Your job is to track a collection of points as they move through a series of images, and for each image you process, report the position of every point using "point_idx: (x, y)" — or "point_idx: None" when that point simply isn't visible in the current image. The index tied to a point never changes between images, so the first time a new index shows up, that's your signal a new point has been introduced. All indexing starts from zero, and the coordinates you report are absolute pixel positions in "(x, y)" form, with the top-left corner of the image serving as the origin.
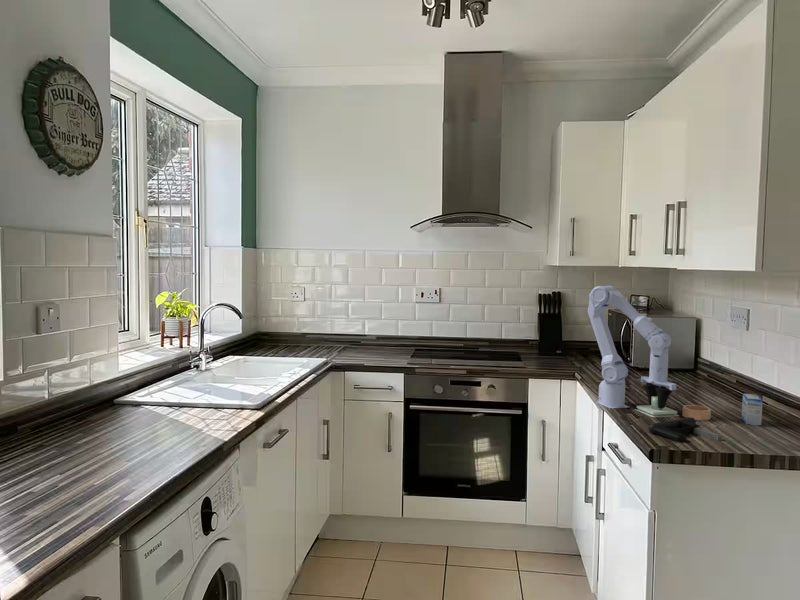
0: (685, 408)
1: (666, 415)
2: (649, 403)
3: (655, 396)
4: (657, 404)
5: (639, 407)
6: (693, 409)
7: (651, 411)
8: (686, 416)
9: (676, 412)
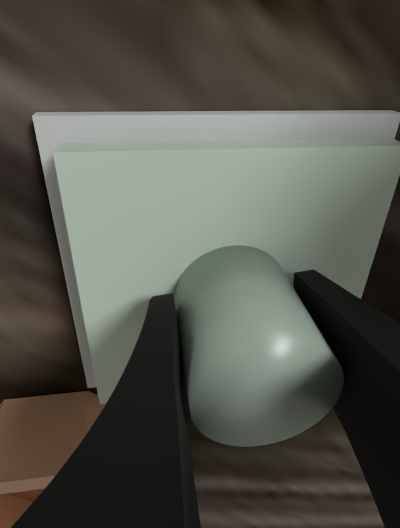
0: (38, 474)
1: None
2: (318, 276)
3: (309, 394)
4: (190, 312)
5: (350, 143)
6: None
7: (109, 160)
8: (34, 412)
9: (98, 390)
